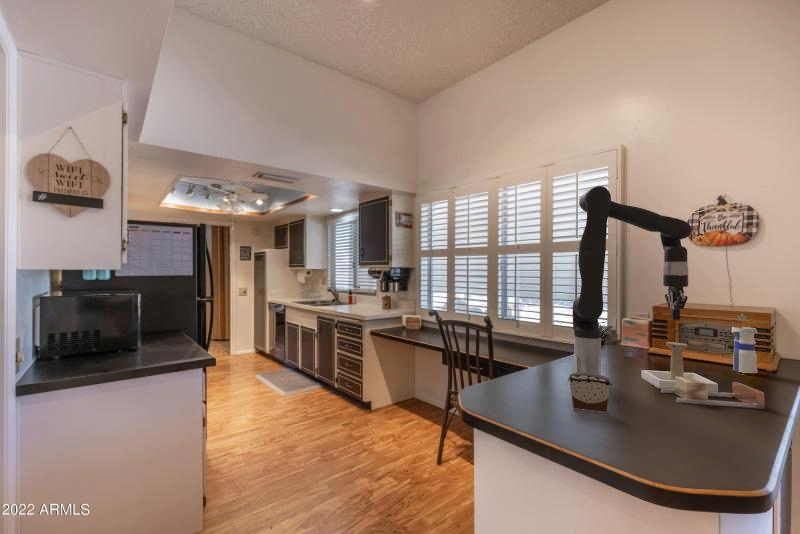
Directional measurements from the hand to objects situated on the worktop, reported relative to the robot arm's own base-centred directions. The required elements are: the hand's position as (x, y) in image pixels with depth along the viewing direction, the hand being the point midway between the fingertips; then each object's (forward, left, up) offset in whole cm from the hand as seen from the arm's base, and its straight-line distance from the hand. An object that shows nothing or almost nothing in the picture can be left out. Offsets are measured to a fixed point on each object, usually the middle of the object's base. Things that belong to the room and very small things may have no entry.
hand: (675, 319), depth 135 cm
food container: (-39, -32, -25) cm, 57 cm away
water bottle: (+39, +28, -25) cm, 54 cm away
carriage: (-3, -15, -25) cm, 29 cm away
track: (+2, -15, -25) cm, 29 cm away
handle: (+1, +1, -24) cm, 24 cm away
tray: (+1, +1, -25) cm, 25 cm away
